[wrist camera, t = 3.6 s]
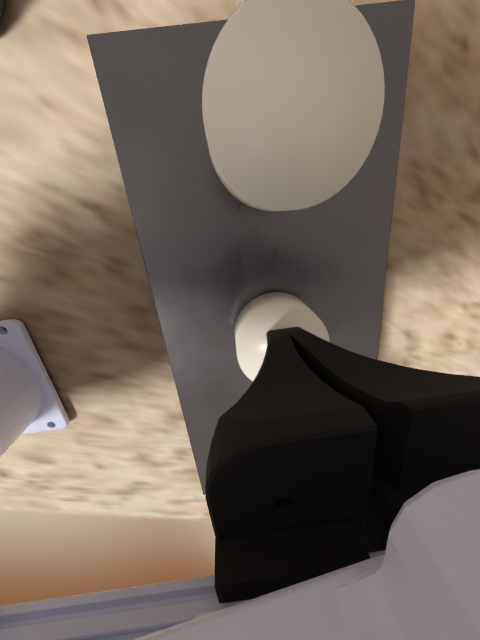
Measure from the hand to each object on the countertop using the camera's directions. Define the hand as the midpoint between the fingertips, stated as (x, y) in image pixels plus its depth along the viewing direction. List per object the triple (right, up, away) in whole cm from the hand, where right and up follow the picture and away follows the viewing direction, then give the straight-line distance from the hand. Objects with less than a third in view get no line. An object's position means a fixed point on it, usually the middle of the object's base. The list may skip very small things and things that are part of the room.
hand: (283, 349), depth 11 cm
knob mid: (0, +2, +4) cm, 5 cm away
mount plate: (0, +2, +5) cm, 5 cm away
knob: (-1, +8, -1) cm, 8 cm away
